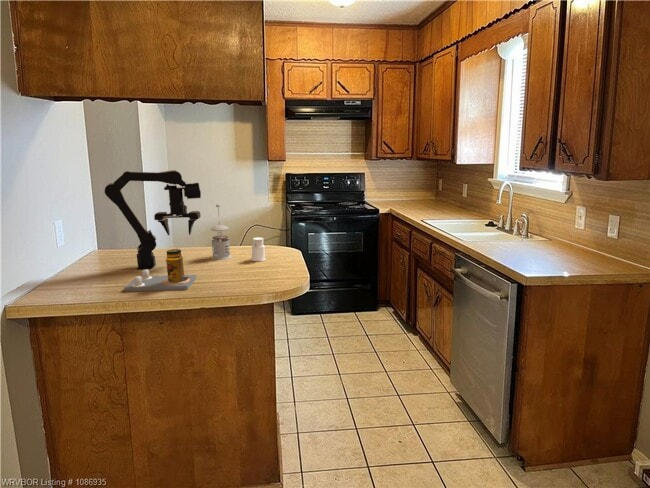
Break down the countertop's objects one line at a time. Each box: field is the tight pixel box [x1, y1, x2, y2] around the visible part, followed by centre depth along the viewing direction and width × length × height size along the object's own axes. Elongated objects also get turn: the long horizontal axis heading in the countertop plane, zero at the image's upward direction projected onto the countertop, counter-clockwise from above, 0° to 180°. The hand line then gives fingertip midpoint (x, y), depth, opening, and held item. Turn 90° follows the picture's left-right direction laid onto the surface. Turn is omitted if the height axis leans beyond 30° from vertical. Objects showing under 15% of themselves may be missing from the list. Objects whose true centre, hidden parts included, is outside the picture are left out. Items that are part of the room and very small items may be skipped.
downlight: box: [248, 237, 267, 262], centre depth 216 cm, size 8×7×10 cm
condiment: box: [165, 248, 190, 283], centre depth 181 cm, size 7×8×12 cm
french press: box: [210, 203, 233, 261], centre depth 221 cm, size 10×12×25 cm
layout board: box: [124, 269, 197, 292], centre depth 182 cm, size 23×14×5 cm, turn 93°
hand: (179, 234), depth 210 cm, fingers open, 9 cm apart
